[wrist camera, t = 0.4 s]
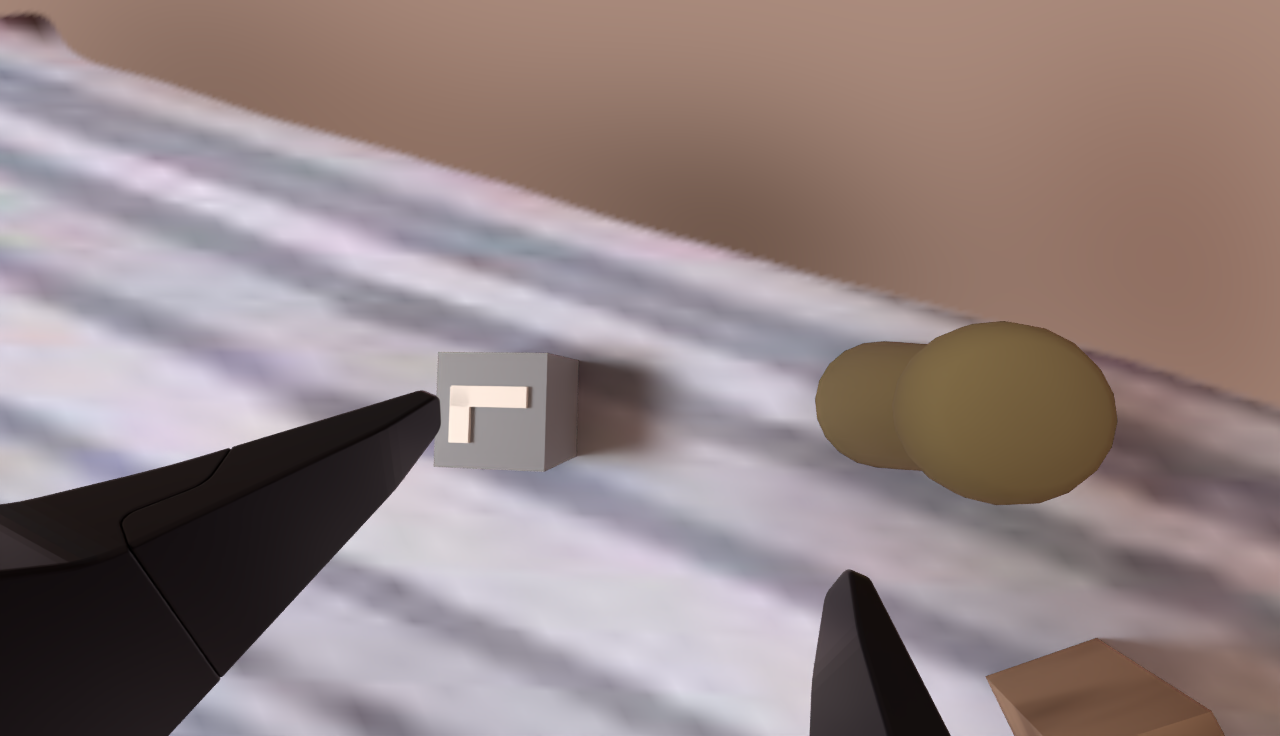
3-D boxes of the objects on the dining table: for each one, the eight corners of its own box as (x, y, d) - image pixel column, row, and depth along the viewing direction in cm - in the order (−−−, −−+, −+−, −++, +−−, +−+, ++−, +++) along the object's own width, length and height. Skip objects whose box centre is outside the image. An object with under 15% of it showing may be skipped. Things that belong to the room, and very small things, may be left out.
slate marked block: (576, 455, 25) (542, 472, 20) (486, 452, 26) (430, 467, 21) (579, 360, 25) (545, 352, 20) (489, 359, 26) (435, 351, 21)
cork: (928, 327, 23) (1126, 268, 12) (965, 452, 22) (1207, 508, 11) (800, 358, 24) (879, 330, 13) (833, 480, 23) (944, 558, 12)
